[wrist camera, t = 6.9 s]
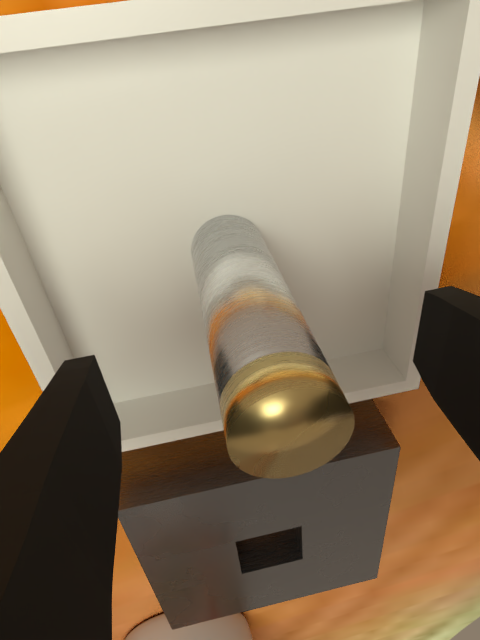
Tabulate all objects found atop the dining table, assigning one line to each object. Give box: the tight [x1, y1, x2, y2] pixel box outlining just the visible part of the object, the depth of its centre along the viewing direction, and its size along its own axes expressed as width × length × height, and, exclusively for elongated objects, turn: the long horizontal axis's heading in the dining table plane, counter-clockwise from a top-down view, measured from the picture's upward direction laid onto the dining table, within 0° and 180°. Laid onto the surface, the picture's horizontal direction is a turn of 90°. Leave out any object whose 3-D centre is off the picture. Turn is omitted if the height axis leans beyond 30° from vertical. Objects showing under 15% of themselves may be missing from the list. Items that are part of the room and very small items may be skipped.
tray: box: [0, 0, 480, 452], centre depth 14 cm, size 13×13×3 cm
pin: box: [191, 215, 355, 479], centre depth 11 cm, size 2×2×8 cm
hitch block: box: [118, 399, 400, 630], centre depth 23 cm, size 12×12×3 cm
